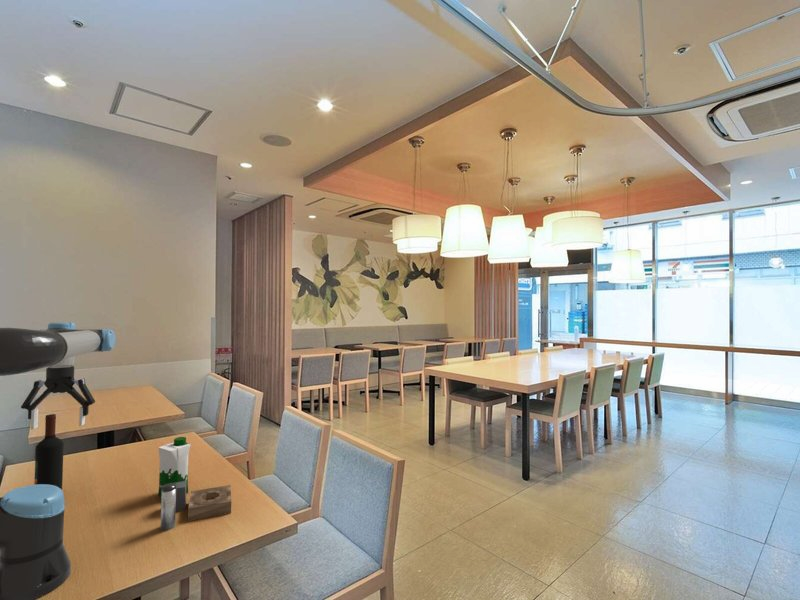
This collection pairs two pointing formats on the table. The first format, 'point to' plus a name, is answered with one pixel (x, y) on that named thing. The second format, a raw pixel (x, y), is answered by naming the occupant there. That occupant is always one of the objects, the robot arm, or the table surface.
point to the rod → (168, 506)
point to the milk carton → (174, 463)
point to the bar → (180, 496)
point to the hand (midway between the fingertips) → (58, 426)
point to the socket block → (209, 502)
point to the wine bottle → (49, 456)
